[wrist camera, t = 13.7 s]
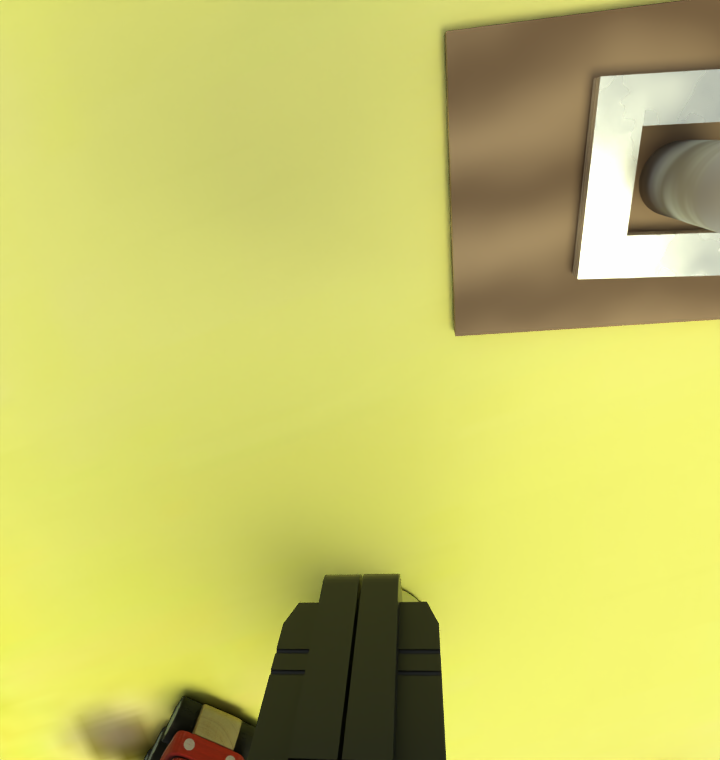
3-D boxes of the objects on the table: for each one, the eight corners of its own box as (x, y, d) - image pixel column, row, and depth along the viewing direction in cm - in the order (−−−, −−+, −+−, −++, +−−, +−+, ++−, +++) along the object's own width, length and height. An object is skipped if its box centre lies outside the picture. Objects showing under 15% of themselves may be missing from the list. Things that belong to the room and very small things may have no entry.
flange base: (865, 303, 34) (994, 350, 26) (454, 330, 37) (464, 379, 29) (958, -32, 27) (1167, -96, 19) (444, 35, 30) (455, 1, 22)
